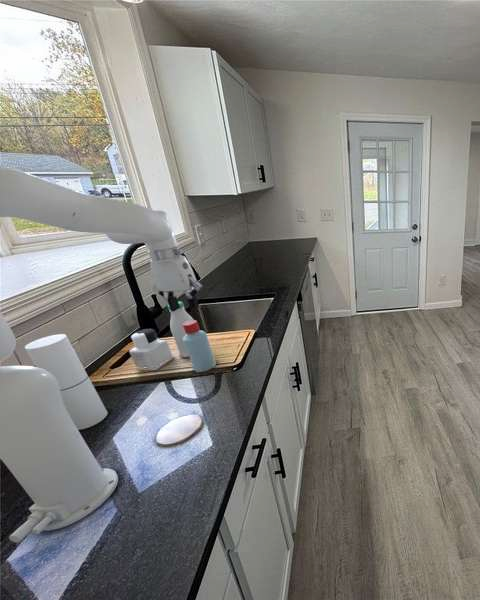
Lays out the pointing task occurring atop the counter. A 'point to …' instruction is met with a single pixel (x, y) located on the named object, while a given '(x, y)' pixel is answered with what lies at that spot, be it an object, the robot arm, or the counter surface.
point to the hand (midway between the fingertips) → (185, 308)
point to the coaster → (179, 430)
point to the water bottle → (199, 351)
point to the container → (149, 350)
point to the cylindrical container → (68, 379)
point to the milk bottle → (179, 327)
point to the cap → (191, 326)
